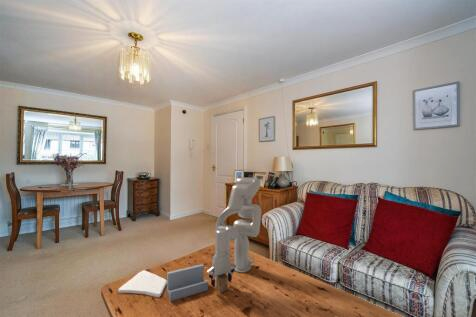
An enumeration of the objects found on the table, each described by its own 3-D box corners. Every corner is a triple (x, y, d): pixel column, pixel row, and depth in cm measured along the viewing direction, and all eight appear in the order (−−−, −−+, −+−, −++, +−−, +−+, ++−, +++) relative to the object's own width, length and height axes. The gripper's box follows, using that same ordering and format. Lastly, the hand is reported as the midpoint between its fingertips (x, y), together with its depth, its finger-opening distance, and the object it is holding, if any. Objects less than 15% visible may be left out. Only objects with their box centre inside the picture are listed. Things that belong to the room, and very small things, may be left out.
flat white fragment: (116, 296, 111) (158, 301, 106) (116, 289, 111) (158, 294, 106) (142, 273, 132) (178, 276, 127) (141, 268, 132) (178, 271, 127)
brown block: (223, 285, 118) (223, 271, 118) (227, 291, 113) (228, 276, 113) (216, 288, 116) (216, 273, 116) (220, 293, 111) (220, 278, 111)
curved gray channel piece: (202, 281, 122) (202, 264, 123) (207, 290, 114) (208, 271, 114) (167, 290, 113) (167, 272, 113) (170, 301, 105) (170, 281, 105)
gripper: (232, 247, 122) (232, 276, 122) (204, 252, 114) (204, 284, 114) (239, 252, 116) (238, 283, 115) (209, 258, 108) (208, 291, 107)
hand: (221, 283), depth 114 cm, fingers open, 9 cm apart
